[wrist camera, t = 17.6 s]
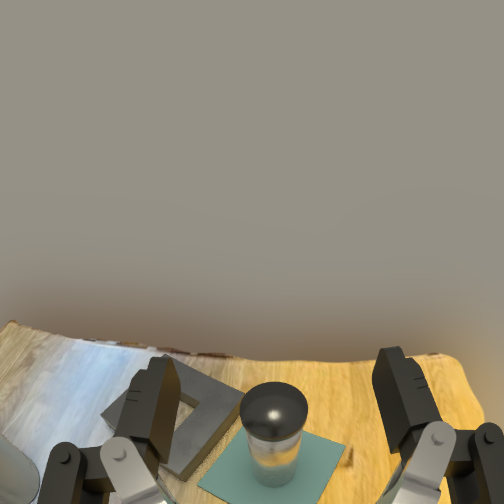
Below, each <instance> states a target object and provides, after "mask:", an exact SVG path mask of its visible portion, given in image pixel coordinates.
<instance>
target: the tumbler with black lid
mask: <svg viewBox="0 0 504 504" xmlns="http://www.w3.org/2000/svg"><path fill="white" fill-rule="evenodd" d="M307 414H308V404H307V400H306V398H305V396H304V395H303V394H302V392H301V391H299V390H298V389H297V388H296V387H294V386H292V385H290V384H287V383H283V382H267V383H262V384H259V385H257V386H255V387H253V388H252V389H251V390H249V391H248V392H247V393H246V394H245V395H244V397H243V399H242V401H241V403H240V417H241V421H242V424H243V426H244V428H245V431H246V437H247V443H248V449H249V454H250V460H251V465H252V471H253V475H254V477H255V479H256V480H257V481H258V482H259V483H260V484H262V485H264V486H266V487H271V488H276V487H281V486H284V485H286V484H287V483H289V482H290V481H291V480H292V479H293V477H294V475H295V472H296V466H297V460H298V455H299V449H300V443H301V436H302V430H303V426H304V425H305V422H306V419H307Z"/></svg>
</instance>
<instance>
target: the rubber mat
mask: <svg viewBox="0 0 504 504" xmlns="http://www.w3.org/2000/svg"><path fill="white" fill-rule="evenodd" d="M344 448H345V445H342V444H339V443H336V442H333V441H331V440H328V439H325V438H322V437H319V436H316V435H314V434H311V433H308V432H306V431H303V430H302V436H301V443H300V449H299V455H298V460H297V466H296V472H295V475H294V477H293V479H292V480H291V481H290V482H289V483H287V484H286V485H284V486H281V487H276V488H271V487H266V486H264V485H262V484H260V483H259V482H258V481H257V480H256V479H255V477H254V475H253V471H252V465H251V460H250V454H249V449H248V443H247V437H246V431H245V428H244V426H242V427H241V429H240V430H239V432H238V433H237V434H236V436H235V437H234V438H233V439H232V441H231V442H230V443H229V445H228V446H227V447H226V449H225V450H224V451H223V453H222V454H221V455H220V456H219V458H218V459H217V460H216V461H215V463H214V464H213V465H212V466H211V468H210V469H209V470H208V471H207V473H206V474H205V475H204V476H203V478H202V479H201V480H200V481H199V482H198V484H197V486H199V487H201V488H202V489H204V490H206V491H207V492H209V493H211V494H213V495H214V496H216V497H218V498H220V499H222V500H224V501H225V502H227V503H229V504H316V503H317V501H318V499H319V498H320V496H321V494H322V492H323V490H324V488H325V487H326V485H327V483H328V481H329V479H330V477H331V475H332V473H333V471H334V469H335V467H336V465H337V463H338V461H339V459H340V457H341V455H342V453H343V451H344Z"/></svg>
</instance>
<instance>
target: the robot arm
mask: <svg viewBox="0 0 504 504" xmlns="http://www.w3.org/2000/svg"><path fill="white" fill-rule="evenodd" d="M372 385H373V389H374V393H375V396H376V400H377V403H378V407H379V410H380V414H381V418H382V422H383V425H384V429H385V433H386V437H387V441H388V445H389V449H390V453H391V454H394V453H399V452H400V456H401V459H400V461H399V463H398V465H397V467H396V469H395V471H394V473H393V475H392V477H391V479H390V480H389V482H388V484H387V486H386V488H385V490H384V491H383V493H382V495H381V496H380V498H379V499H378V501H377V502H376V503H375V504H437V503H438V501H439V498H440V495H441V490H439V486H440V483H441V481H442V479H443V477H446V479H447V483H448V488H449V493H450V499H451V504H504V435H503V432H502V430H501V429H500V427H499V426H497V425H496V424H494V423H490V422H489V423H484V424H482V425H480V426H479V427H478V428H477V429H476V430H457V429H453V427H452V426H451V425H449V424H448V423H446V422H443V420H442V418H441V416H440V414H439V411H438V408H437V406H436V403H435V401H434V398H433V396H432V393H431V391H430V388H428V383H427V381H426V379H425V376H424V374H423V371H422V369H421V367H420V365H419V364H418V363H417V362H416V361H415V360H414V359H413V358H412V357H411V358H405V356H404V354H403V351H402V349H401V348H400V347H399V346H396V347H389V348H382V349H380V351H379V354H378V357H377V360H376V363H375V366H374V369H373V373H372ZM180 394H181V384H180V380H179V377H178V374H177V371H176V369H175V366H174V363H173V360H172V358H170V357H152V358H151V359H150V362H149V365H148V368H147V370H143V369H140V370H139V371H138V372H137V373H136V374H135V376H134V377H133V378H132V380H131V383H130V386H129V389H128V392H127V395H126V398H125V399H126V401H125V402H124V405H123V408H122V411H121V415H120V418H119V421H118V425H117V428H116V431H115V434H114V436H113V437H112V438H111V439H109V440H107V441H106V442H105V443H104V444H103V445H102V446H98V447H90V448H79V449H78V448H77V447H76V446H75V445H74V444H72V443H70V442H61V443H59V444H57V445H55V446H54V447H53V449H52V450H51V452H50V455H49V459H48V462H47V466H46V469H45V473H44V477H43V481H42V485H41V489H40V493H39V497H38V502H37V504H108V503H109V496H110V492H117V494H118V496H119V498H120V500H121V502H122V504H178V503H177V502H176V500H175V499H174V497H173V496H172V494H171V493H170V491H169V490H168V488H167V486H166V485H165V483H164V482H163V480H162V479H161V477H160V475H159V474H158V467H159V463H161V464H168V461H169V455H170V449H171V443H172V438H173V432H174V426H175V421H176V415H177V410H178V405H179V400H180ZM38 488H39V474H38V471H37V468H36V466H35V465H34V463H33V462H32V461H31V460H30V459H29V458H28V457H27V456H26V455H25V454H24V453H22V452H21V451H20V450H19V449H17V448H16V447H15V446H14V445H13V444H12V443H11V442H10V441H9V440H7V439H6V438H5V437H4V436H3V435H2V434H1V433H0V504H29V503H30V502H31V501H32V500H33V499H34V497H35V496H36V494H37V492H38Z"/></svg>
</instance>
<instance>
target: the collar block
mask: <svg viewBox="0 0 504 504" xmlns="http://www.w3.org/2000/svg"><path fill="white" fill-rule="evenodd" d="M162 357H170V356H168V355H167V354H164V355H163V356H162ZM170 358H172V357H170ZM172 360H173V363H174V366H175V369H176V371H177V374H178V377H179V380H180V384H181V394H180V400H181V401H183V402H185V403H186V404H188V405H190V406H192V407H193V408H195V409H194V410H193V412H192V413H191V414H190V415H189V416H188V417H187V418H186V419H185V421H184V422H183V423H182V424H181V425H180V426H179V427H178V428H177V430H176V431H175V432H174V433H173V438H172V443H171V449H170V455H169V461H168V464H161V463H159V465H160V466H161V467H163V468H164V469H166V470H167V471H169V472H170V473H172V474H173V475H175V476H176V477H178V478H179V479H181V480H182V481H184V482H186V481H187V479H188V478H189V477H190V476H191V475H192V474H193V472H194V471H195V470H196V469H197V468H198V466H199V465H200V464H201V463H202V462H203V460H204V459H205V458H206V457H207V455H208V454H209V453H210V452H211V451H212V449H213V448H214V447H215V446H216V444H217V443H218V442H219V440H220V439H221V438H222V437H223V435H224V434H225V433H226V432H227V430H228V429H229V428H230V426H231V425H232V424H233V422H234V421H235V420H236V419H237V417H238V416H239V415H240V403H241V401H242V399H243V397H244V395H245V393H243V392H241V391H239V390H236V389H234V388H232V387H230V386H228V385H226V384H224V383H221V382H219V381H217V380H215V379H213V378H211V377H209V376H207V375H205V374H203V373H201V372H199V371H197V370H195V369H193V368H191V367H189V366H187V365H185V364H183V363H182V362H180V361H178V360H176V359H174V358H172ZM128 389H129V388H128ZM128 389H127V390H126V391H125V392H124V393H123V394H122V395H121V396H120V397H119V398H117V399H116V400H115V401H114V402H113V403H112V404H111V405H110V406H109V407H108V408H107V409H106V410H105V411H104V412H103V413H101V414H100V415H101V417H102V418H103V419H104V420H105V422H106V423H107V424H108V426H110V427H111V428H112V429H113V430H114V431H116V428H117V425H118V421H119V418H120V415H121V411H122V408H123V405H124V402H125V401H126V399H125V398H126V395H127V392H128Z"/></svg>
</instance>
